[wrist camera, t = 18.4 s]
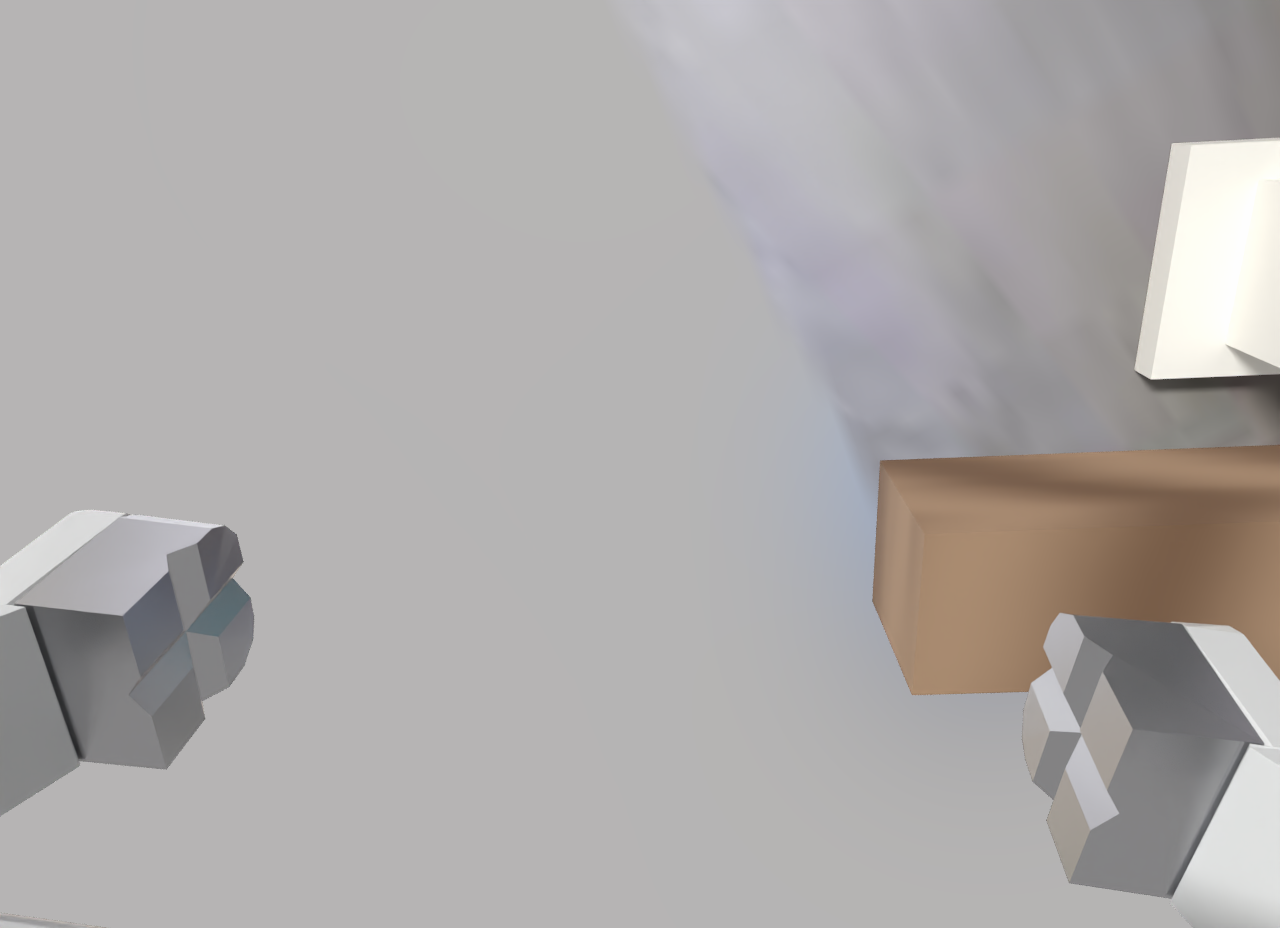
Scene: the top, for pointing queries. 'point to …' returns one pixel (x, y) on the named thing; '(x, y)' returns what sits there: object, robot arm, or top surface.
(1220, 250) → the post
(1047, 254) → the top surface
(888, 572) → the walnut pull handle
